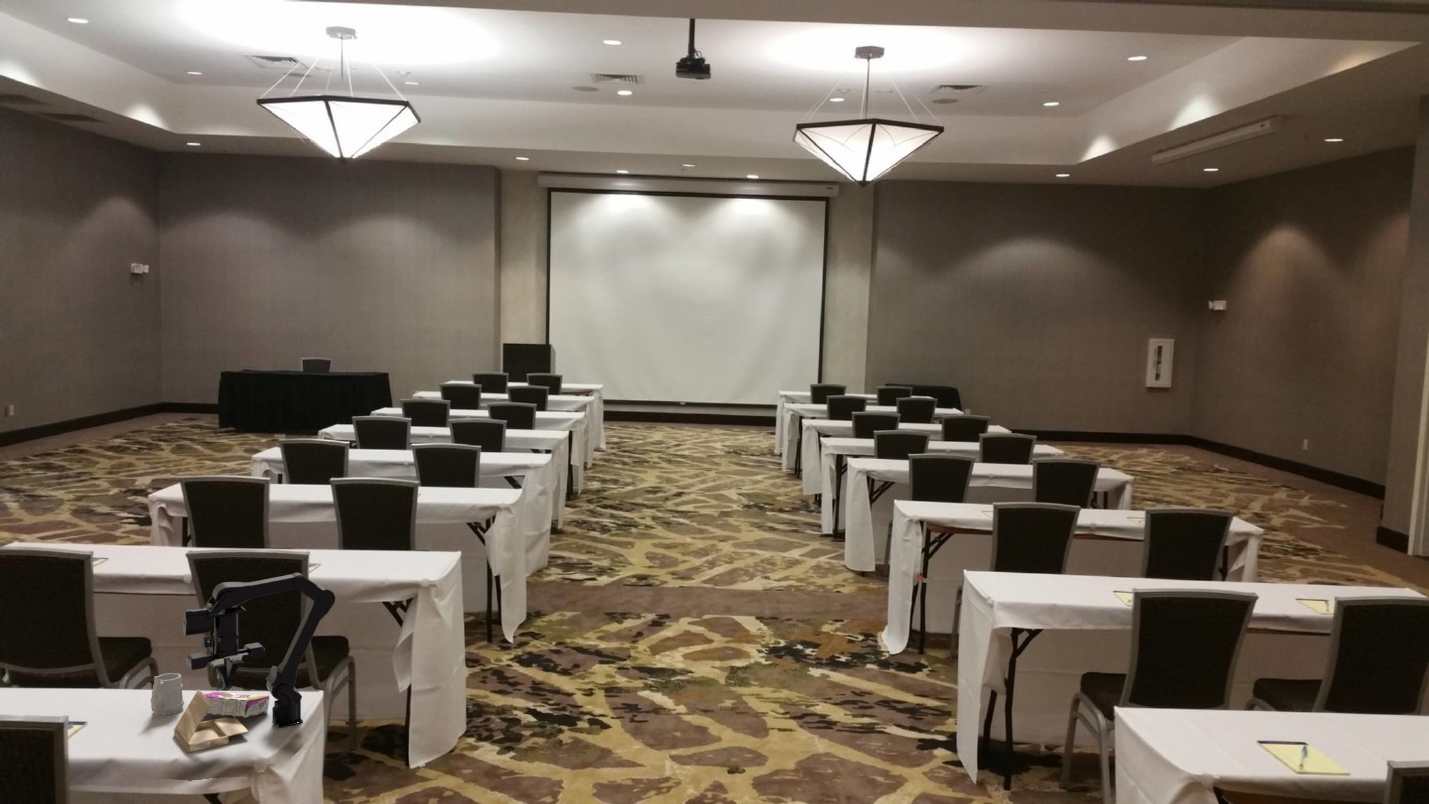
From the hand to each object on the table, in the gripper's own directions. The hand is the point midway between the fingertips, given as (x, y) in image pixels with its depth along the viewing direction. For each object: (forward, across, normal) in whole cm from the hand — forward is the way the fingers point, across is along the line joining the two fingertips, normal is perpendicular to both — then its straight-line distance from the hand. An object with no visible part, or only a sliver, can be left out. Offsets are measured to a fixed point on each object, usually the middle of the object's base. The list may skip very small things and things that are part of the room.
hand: (226, 686), depth 279 cm
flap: (+11, +11, 0) cm, 16 cm away
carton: (+13, +4, 0) cm, 14 cm away
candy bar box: (+9, +1, -18) cm, 20 cm away
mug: (+13, +10, -26) cm, 30 cm away
